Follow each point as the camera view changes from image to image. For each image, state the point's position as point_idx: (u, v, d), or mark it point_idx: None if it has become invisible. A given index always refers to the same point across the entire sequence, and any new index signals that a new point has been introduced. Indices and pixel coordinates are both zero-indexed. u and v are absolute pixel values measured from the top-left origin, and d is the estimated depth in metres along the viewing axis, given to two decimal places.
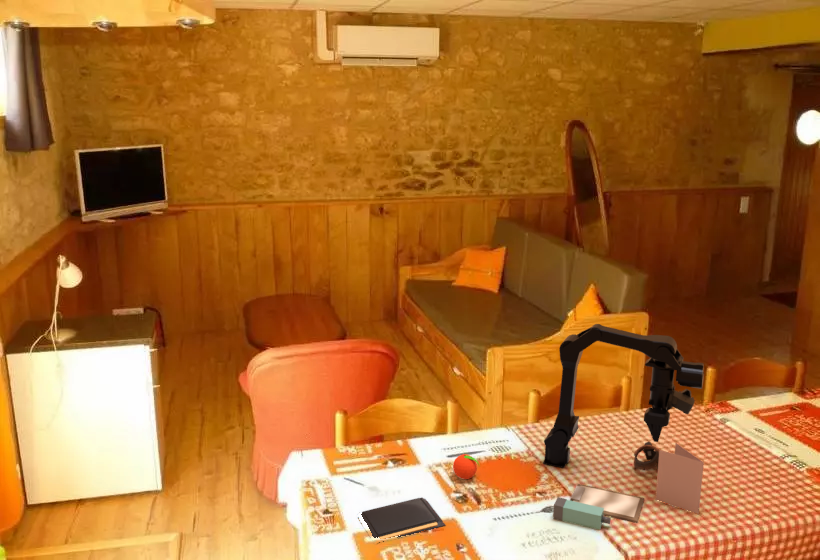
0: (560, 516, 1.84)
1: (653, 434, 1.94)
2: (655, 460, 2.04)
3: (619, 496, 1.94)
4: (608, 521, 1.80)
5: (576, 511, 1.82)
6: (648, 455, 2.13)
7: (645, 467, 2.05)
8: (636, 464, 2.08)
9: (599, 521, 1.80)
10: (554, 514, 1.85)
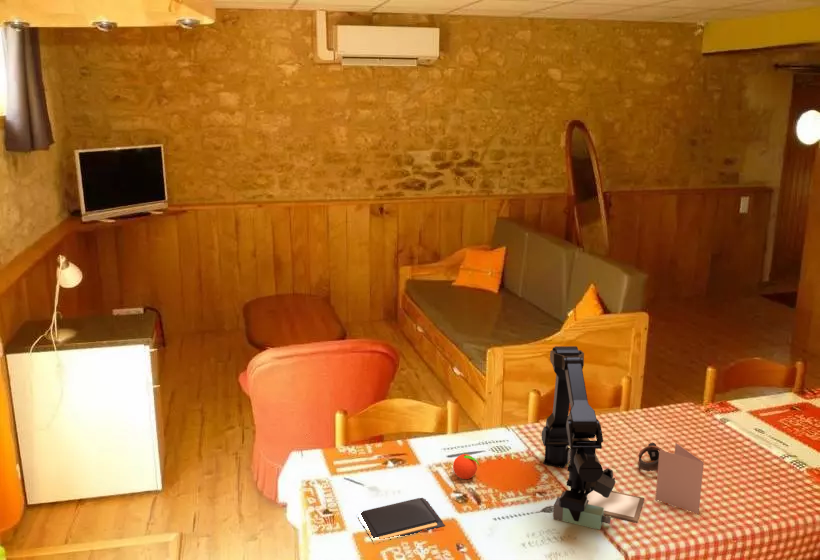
0: (560, 516, 1.84)
1: (573, 513, 1.81)
2: None
3: (619, 496, 1.94)
4: (608, 521, 1.80)
5: None
6: (652, 456, 2.12)
7: (650, 468, 2.05)
8: (640, 465, 2.07)
9: (599, 521, 1.80)
10: (554, 514, 1.85)
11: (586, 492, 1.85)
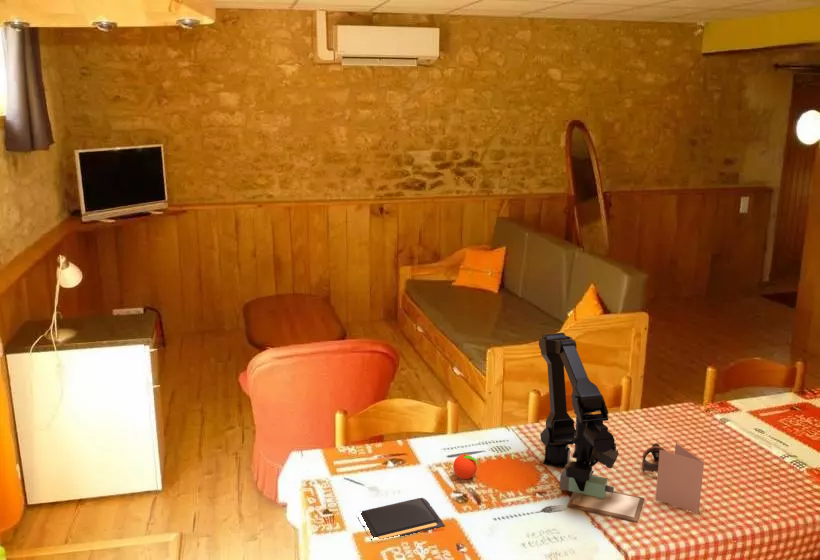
0: (566, 486, 1.96)
1: (578, 484, 1.93)
2: None
3: (619, 496, 1.94)
4: (611, 490, 1.92)
5: None
6: (655, 456, 2.12)
7: (654, 469, 2.04)
8: (645, 466, 2.07)
9: (603, 490, 1.92)
10: (561, 484, 1.97)
11: (591, 464, 1.96)
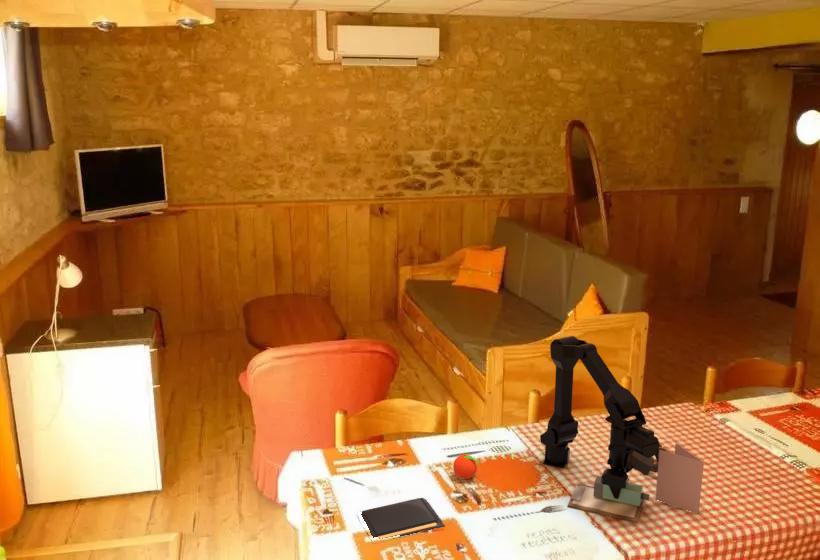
0: (600, 494, 1.92)
1: (613, 491, 1.89)
2: None
3: None
4: (647, 498, 1.88)
5: None
6: (658, 457, 2.12)
7: (657, 469, 2.04)
8: None
9: (638, 498, 1.88)
10: (594, 491, 1.93)
11: (625, 471, 1.92)
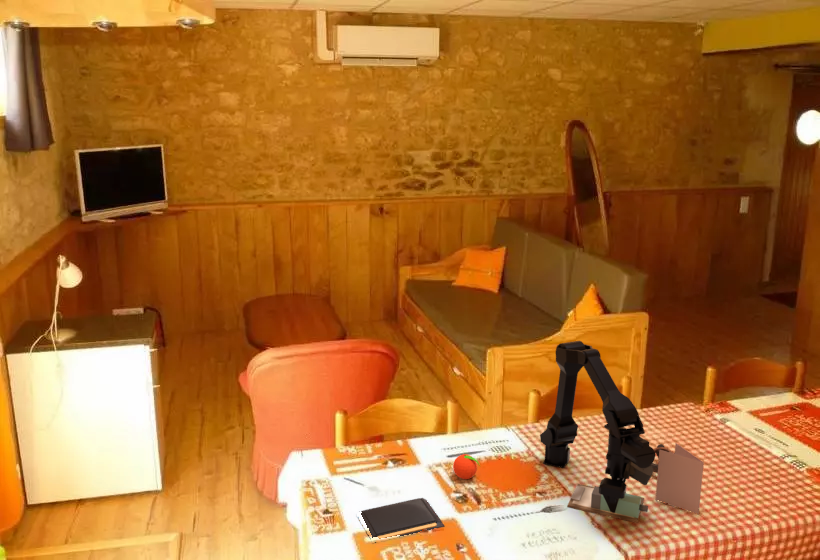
0: (598, 505, 1.88)
1: (610, 505, 1.83)
2: None
3: None
4: (646, 509, 1.84)
5: None
6: None
7: None
8: None
9: (637, 509, 1.83)
10: (592, 503, 1.88)
11: None
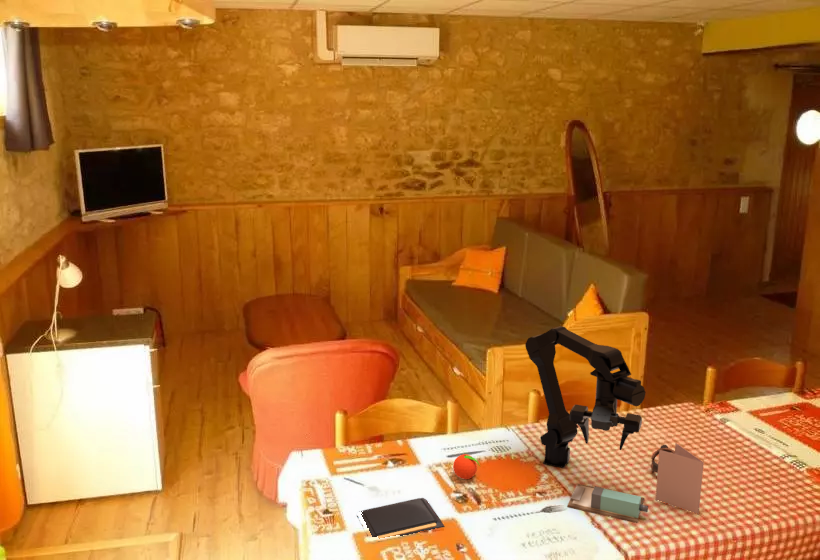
0: (598, 505, 1.88)
1: None
2: None
3: None
4: (646, 509, 1.84)
5: (614, 499, 1.85)
6: None
7: None
8: (654, 468, 2.06)
9: (637, 509, 1.83)
10: (592, 503, 1.88)
11: None
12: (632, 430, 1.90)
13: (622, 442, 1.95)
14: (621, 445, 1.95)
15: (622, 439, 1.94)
